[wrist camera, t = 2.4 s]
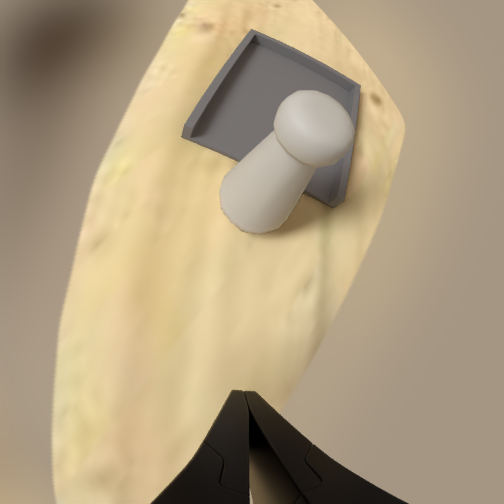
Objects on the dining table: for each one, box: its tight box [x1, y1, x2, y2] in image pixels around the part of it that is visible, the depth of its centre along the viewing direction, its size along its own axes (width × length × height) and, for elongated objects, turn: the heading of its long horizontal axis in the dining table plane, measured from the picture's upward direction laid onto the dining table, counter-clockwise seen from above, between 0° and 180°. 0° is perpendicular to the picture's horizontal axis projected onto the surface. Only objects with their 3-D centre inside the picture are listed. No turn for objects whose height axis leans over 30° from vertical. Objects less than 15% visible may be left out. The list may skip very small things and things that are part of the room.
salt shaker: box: [219, 90, 355, 234], centre depth 20 cm, size 6×6×13 cm
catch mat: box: [182, 29, 361, 208], centre depth 30 cm, size 19×16×2 cm
